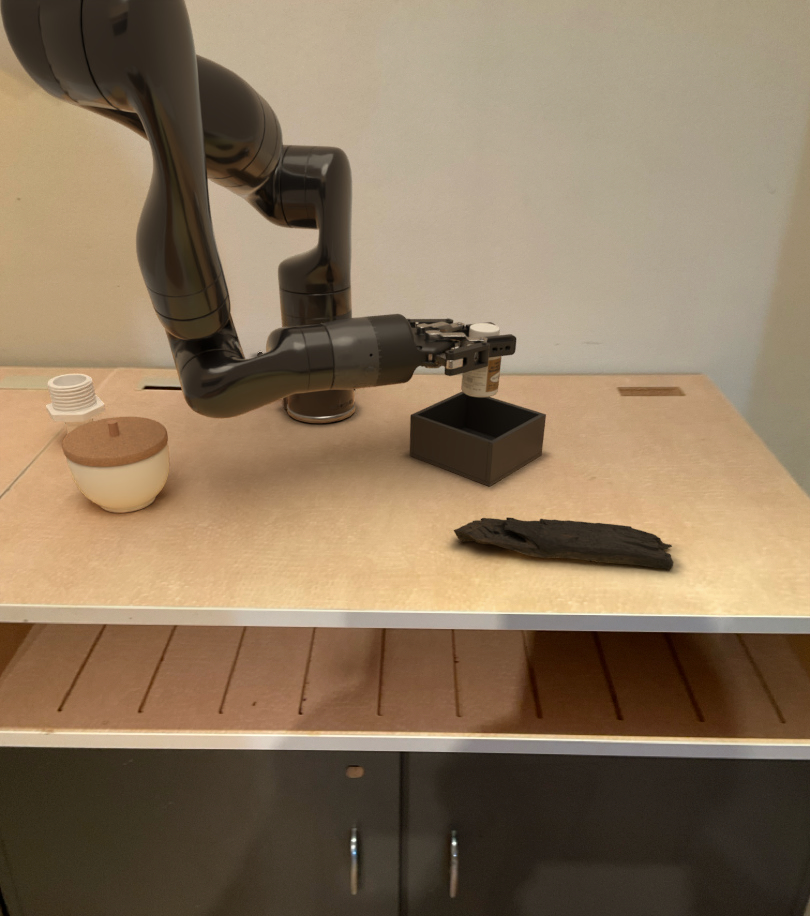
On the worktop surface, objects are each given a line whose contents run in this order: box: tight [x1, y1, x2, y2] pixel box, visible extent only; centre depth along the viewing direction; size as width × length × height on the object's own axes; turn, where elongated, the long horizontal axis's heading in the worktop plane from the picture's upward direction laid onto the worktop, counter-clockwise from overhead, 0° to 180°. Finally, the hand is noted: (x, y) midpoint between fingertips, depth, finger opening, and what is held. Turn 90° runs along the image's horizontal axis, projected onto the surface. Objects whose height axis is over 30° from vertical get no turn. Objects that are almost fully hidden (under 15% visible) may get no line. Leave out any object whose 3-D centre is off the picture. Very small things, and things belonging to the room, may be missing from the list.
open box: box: [409, 390, 547, 487], centre depth 97 cm, size 12×11×6 cm
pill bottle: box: [460, 322, 503, 397], centre depth 92 cm, size 4×4×8 cm
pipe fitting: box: [45, 373, 107, 435], centre depth 99 cm, size 6×7×8 cm
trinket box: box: [61, 416, 170, 514], centre depth 86 cm, size 11×11×9 cm
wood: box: [453, 517, 675, 570], centre depth 80 cm, size 22×7×3 cm, turn 83°
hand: (503, 337), depth 92 cm, fingers closed on pill bottle, 4 cm apart
